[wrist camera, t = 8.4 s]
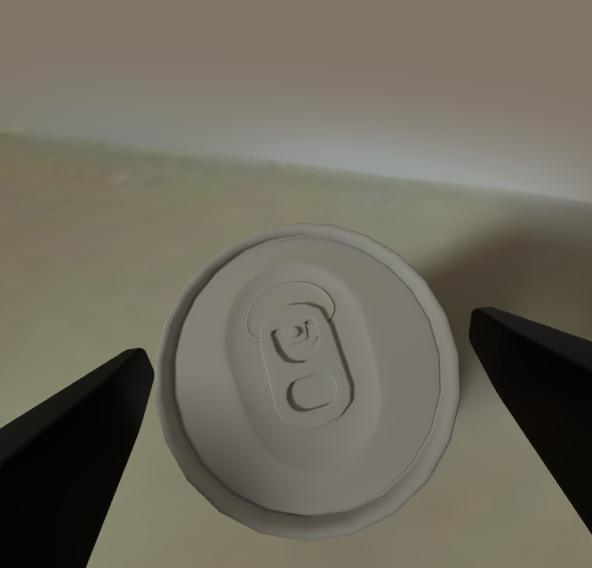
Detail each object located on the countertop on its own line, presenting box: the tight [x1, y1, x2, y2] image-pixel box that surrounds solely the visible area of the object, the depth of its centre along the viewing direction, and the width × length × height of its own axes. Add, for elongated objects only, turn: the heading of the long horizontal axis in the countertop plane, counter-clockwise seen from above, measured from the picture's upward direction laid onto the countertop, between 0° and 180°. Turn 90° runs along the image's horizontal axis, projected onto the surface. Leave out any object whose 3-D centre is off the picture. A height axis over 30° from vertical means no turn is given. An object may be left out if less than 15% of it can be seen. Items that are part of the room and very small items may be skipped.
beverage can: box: [155, 223, 460, 541], centre depth 10 cm, size 5×5×12 cm
